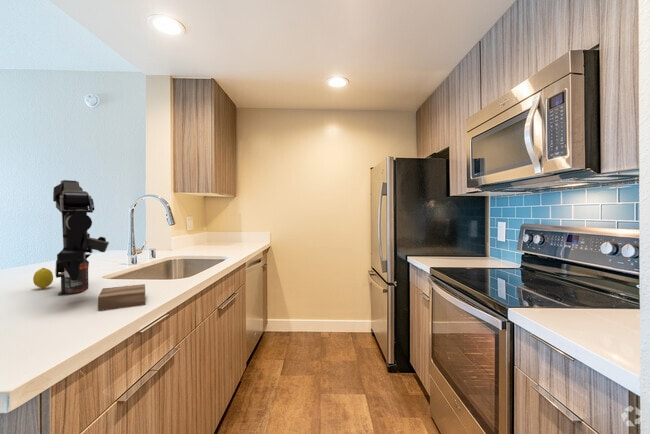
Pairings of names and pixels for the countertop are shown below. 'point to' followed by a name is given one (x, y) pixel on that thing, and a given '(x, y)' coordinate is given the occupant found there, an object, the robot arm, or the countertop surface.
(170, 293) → the countertop surface
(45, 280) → the lemon
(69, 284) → the supplement bottle
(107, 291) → the walnut block
